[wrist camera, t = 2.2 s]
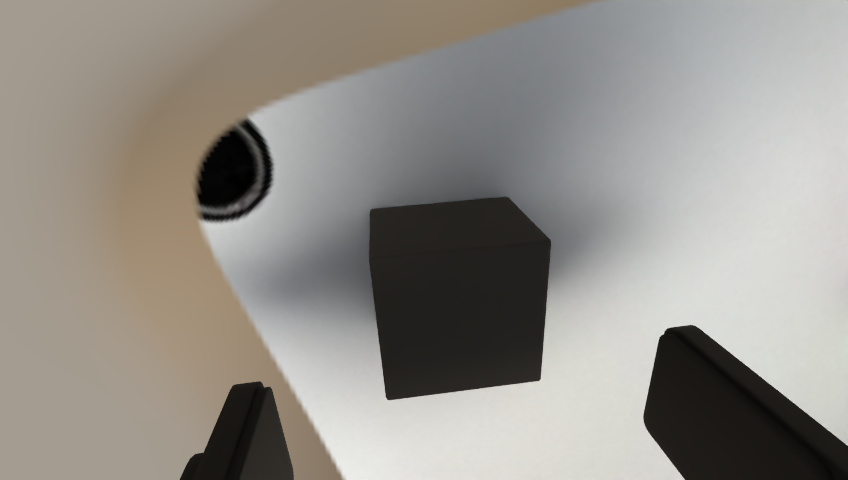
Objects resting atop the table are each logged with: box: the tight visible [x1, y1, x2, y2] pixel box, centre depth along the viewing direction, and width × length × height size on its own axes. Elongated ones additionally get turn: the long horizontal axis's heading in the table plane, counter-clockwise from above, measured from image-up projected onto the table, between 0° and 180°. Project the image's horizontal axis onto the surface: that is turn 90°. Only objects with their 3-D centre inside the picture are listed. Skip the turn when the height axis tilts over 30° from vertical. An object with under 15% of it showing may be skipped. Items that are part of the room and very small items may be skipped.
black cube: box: [369, 197, 551, 400], centre depth 14 cm, size 5×5×4 cm
